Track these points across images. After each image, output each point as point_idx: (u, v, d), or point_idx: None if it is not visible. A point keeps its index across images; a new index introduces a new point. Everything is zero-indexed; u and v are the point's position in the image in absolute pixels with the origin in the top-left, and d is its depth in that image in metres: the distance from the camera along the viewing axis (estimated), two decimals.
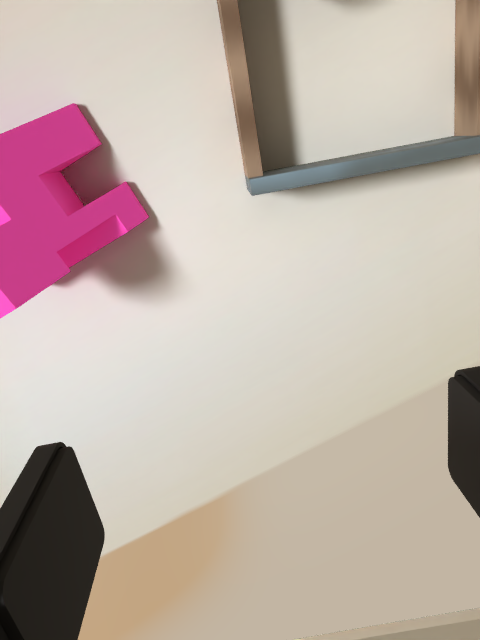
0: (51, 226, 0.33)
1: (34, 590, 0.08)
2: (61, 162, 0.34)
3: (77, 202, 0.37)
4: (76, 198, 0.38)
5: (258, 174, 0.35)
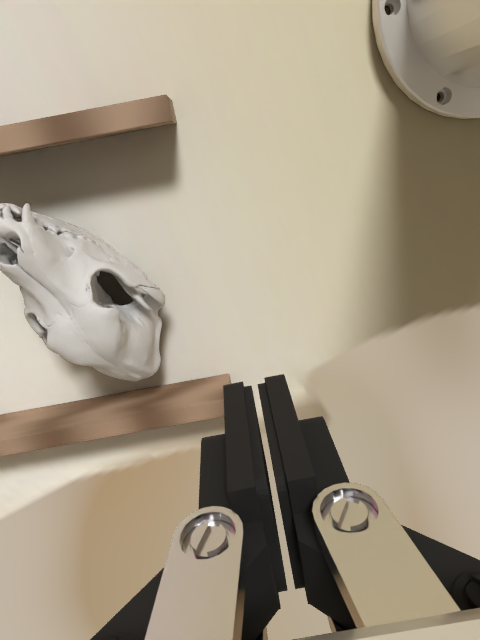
0: None
1: (269, 495, 0.09)
2: None
3: None
4: None
5: None
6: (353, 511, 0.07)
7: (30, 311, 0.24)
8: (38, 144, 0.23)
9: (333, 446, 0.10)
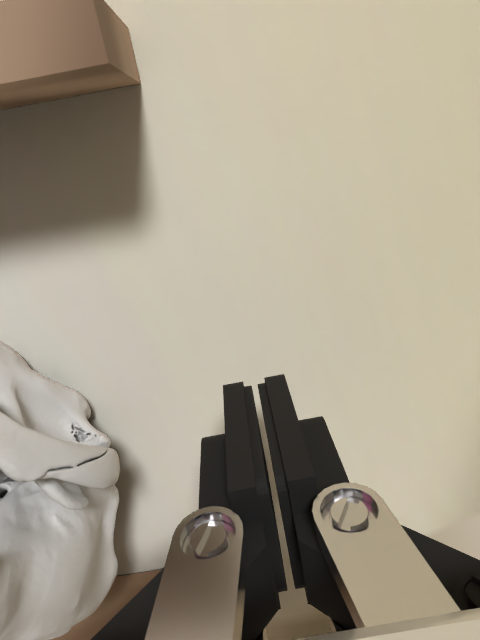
0: None
1: (269, 495, 0.09)
2: None
3: None
4: None
5: None
6: (353, 511, 0.07)
7: None
8: None
9: (333, 446, 0.10)
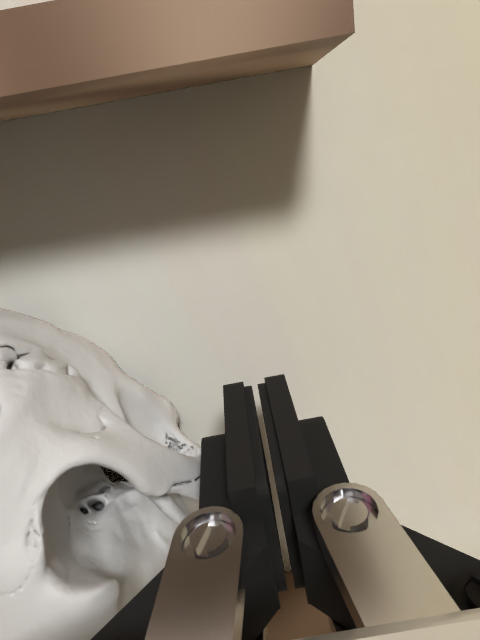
0: None
1: None
2: None
3: None
4: None
5: None
6: (353, 511, 0.07)
7: None
8: None
9: (333, 446, 0.10)
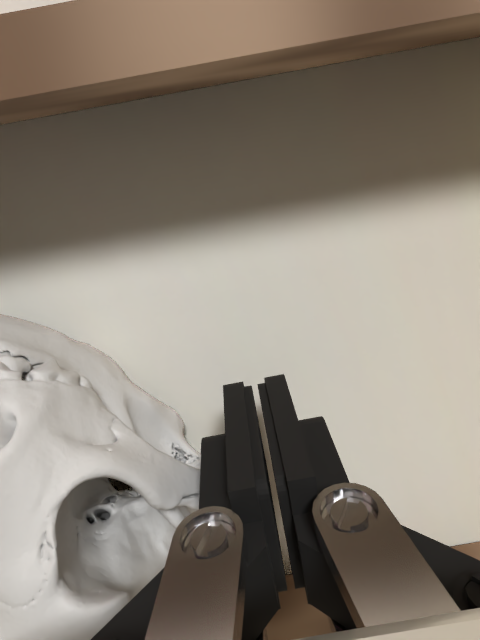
0: None
1: None
2: None
3: None
4: None
5: None
6: (353, 511, 0.07)
7: None
8: (307, 41, 0.08)
9: (333, 446, 0.10)
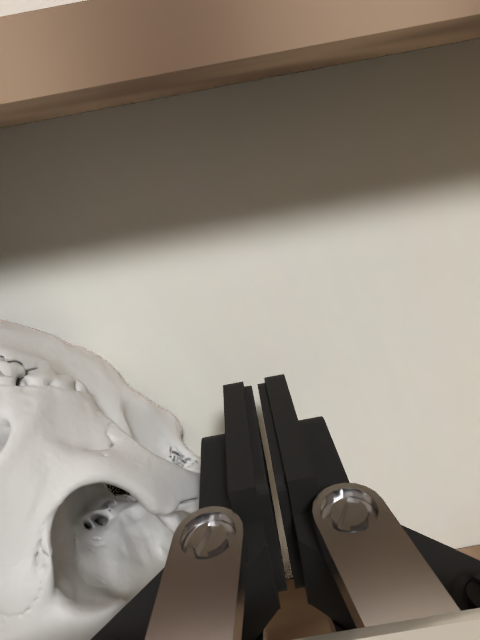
0: None
1: None
2: None
3: None
4: None
5: None
6: (353, 511, 0.07)
7: None
8: (475, 11, 0.08)
9: (333, 446, 0.10)
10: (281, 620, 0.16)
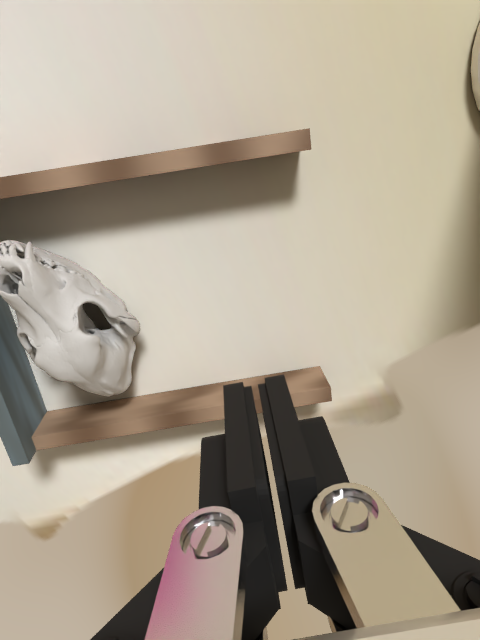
0: None
1: (269, 495, 0.09)
2: None
3: None
4: None
5: None
6: (353, 511, 0.07)
7: (22, 331, 0.28)
8: (199, 166, 0.27)
9: (333, 446, 0.10)
10: (171, 400, 0.35)
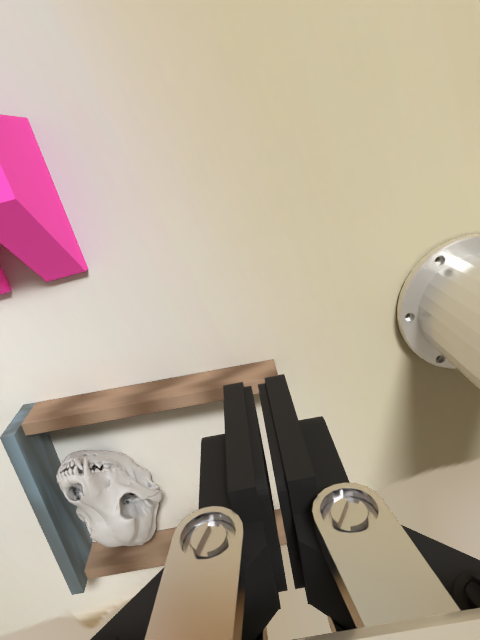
0: None
1: (269, 495, 0.09)
2: (20, 258, 0.34)
3: None
4: None
5: (26, 432, 0.39)
6: (353, 511, 0.07)
7: (81, 514, 0.41)
8: (202, 403, 0.39)
9: (333, 446, 0.10)
10: None
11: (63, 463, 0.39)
